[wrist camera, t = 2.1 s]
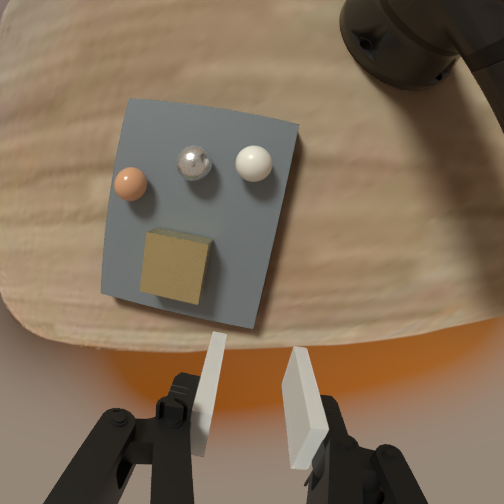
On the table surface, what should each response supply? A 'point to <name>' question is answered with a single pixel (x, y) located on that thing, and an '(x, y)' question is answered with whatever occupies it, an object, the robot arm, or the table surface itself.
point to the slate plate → (198, 204)
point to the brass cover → (175, 265)
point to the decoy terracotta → (130, 184)
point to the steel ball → (194, 163)
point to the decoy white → (253, 163)
